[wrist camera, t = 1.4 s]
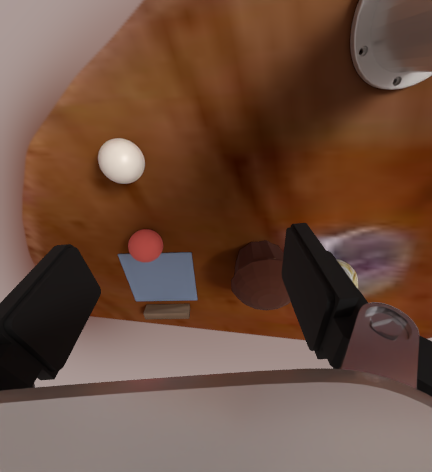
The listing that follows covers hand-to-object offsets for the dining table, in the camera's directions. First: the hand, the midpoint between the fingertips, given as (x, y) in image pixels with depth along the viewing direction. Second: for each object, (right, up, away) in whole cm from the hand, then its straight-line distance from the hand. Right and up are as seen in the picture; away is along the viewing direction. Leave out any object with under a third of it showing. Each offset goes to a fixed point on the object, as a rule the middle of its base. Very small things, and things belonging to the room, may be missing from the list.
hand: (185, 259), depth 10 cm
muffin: (+10, -3, +32) cm, 34 cm away
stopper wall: (-10, -15, +41) cm, 45 cm away
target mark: (-10, -8, +35) cm, 37 cm away
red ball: (-10, -1, +27) cm, 29 cm away
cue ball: (-11, +11, +18) cm, 24 cm away
